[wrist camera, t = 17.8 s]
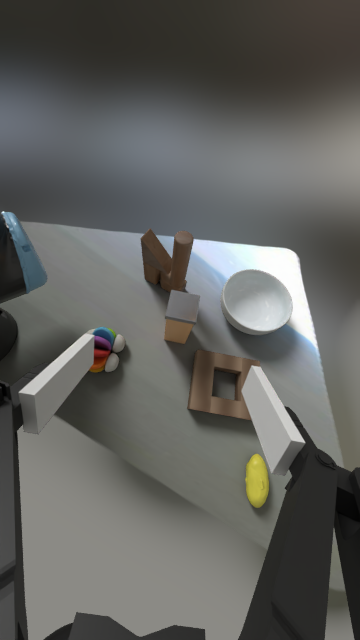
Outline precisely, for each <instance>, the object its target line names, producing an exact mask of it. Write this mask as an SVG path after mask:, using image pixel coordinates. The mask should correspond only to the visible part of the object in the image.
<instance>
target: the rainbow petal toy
mask: <svg viewBox="0 0 360 640" xmlns="http://www.w3.org/2000/svg"><path fill="white" fill-rule="evenodd" d="M86 334H90V335H95V336H94V361H93V365H92V366H91V367H90V369H89V371H91V372H100V371H102V370H104V369H105V371H106V372H111V371H114V370H115V369H116V368H117V366H118V363H119V358H118V356H117V355H116V354H114V353H116V352H120V351H121V350H123V348H124V346H125V339H124V337H123V336H122V335H120V334H118V335H117V336H116V334H115V332H114V331H113V330H112V329H109V328H105V327H99V328H97V329H92V330H89V331H88V332H87V333H86ZM111 350H113V352H114V353H111V354H110V351H111Z"/></svg>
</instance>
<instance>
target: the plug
mask: <svg viewBox="0 0 360 640" xmlns="http://www.w3.org/2000/svg"><path fill="white" fill-rule="evenodd" d="M199 301H200V296H199V295H195V294H190V293H185V292H180V291H175V290H171V294H170V298H169V302H168V307H167V311H166V315H165V319H166V327H165V337H164V340H167V341H172V342H177V343H182V344H185V342H186V340H187V338H188V336H189V334H190V331H191V329H192V327H193V325H195V324H196V320H197V314H198V307H199Z"/></svg>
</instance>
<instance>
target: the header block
mask: <svg viewBox="0 0 360 640" xmlns="http://www.w3.org/2000/svg"><path fill="white" fill-rule="evenodd" d="M251 366H257V367H260V361H256V360H251V359H246V358H240V357H235V356H230V355H225V354H220V353H214V352H209V351H204V350H199V349H198V350H197V351H196V352H195V356H194V364H193V371H192V378H191V386H190V393H189V400H188V407H187V409H193V410H198V411H204V412H209V413H214V414H220V415H225V416H231V417H236V418H242V419H247V420H252V419H251V416H250V413H249V411H248V408H247V405H246V402H245V400H244V397H243V394H242V392H241V391H242V388H243V386H244V383H245V381H246V378H247V376H248V373H249V371H250V368H251ZM214 370H218V371H223V372H228V373H233V374H236V379H235V400H229V399H224V398H219V397H213V396H212V387H213V376H214Z"/></svg>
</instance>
